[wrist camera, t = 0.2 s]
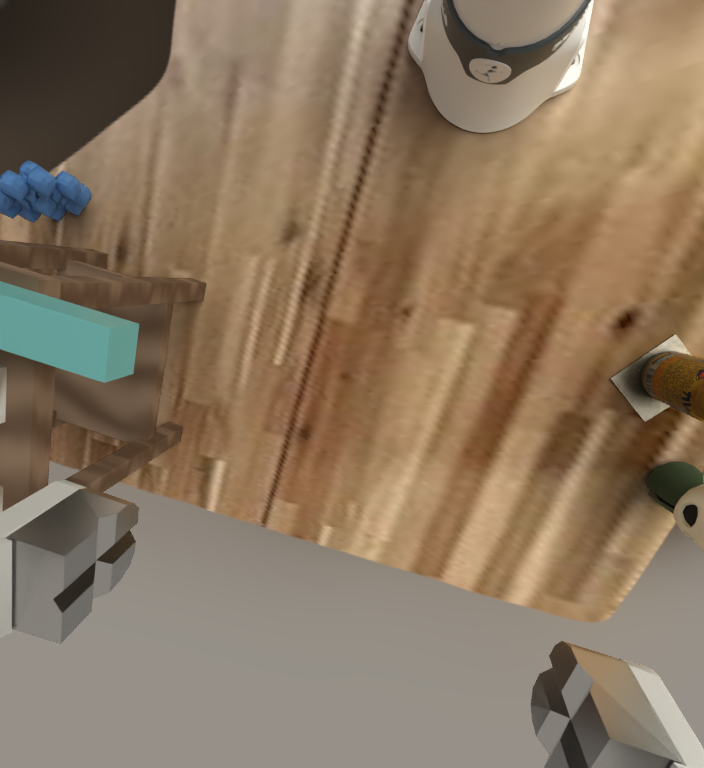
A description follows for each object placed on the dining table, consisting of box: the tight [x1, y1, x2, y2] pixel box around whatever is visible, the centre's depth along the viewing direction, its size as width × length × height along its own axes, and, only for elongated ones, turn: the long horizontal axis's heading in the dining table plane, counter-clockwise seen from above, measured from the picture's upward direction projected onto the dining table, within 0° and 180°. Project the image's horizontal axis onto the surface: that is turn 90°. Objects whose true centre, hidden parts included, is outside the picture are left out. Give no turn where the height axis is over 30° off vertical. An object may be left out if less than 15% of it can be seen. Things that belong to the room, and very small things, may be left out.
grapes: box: [0, 160, 92, 223], centre depth 50 cm, size 12×7×12 cm, turn 104°
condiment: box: [611, 334, 704, 422], centre depth 44 cm, size 7×8×12 cm
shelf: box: [0, 240, 206, 513], centre depth 45 cm, size 25×18×31 cm
